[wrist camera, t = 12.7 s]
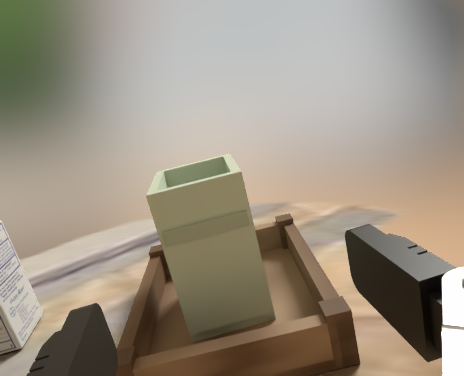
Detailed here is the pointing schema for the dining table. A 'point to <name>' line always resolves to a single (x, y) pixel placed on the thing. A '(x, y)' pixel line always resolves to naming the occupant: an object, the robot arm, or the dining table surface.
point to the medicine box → (15, 299)
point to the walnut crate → (250, 338)
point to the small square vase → (211, 246)
